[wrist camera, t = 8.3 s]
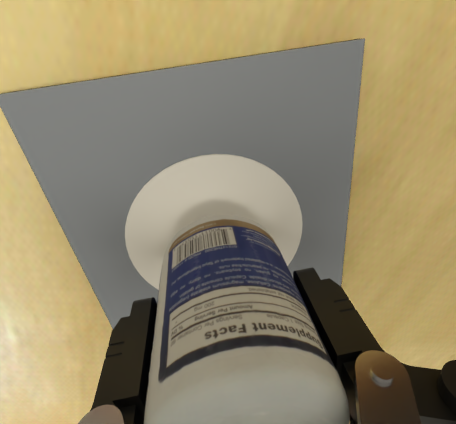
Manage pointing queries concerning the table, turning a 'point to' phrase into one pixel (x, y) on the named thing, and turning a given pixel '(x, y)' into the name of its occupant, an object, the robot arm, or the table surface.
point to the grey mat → (196, 159)
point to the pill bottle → (236, 335)
